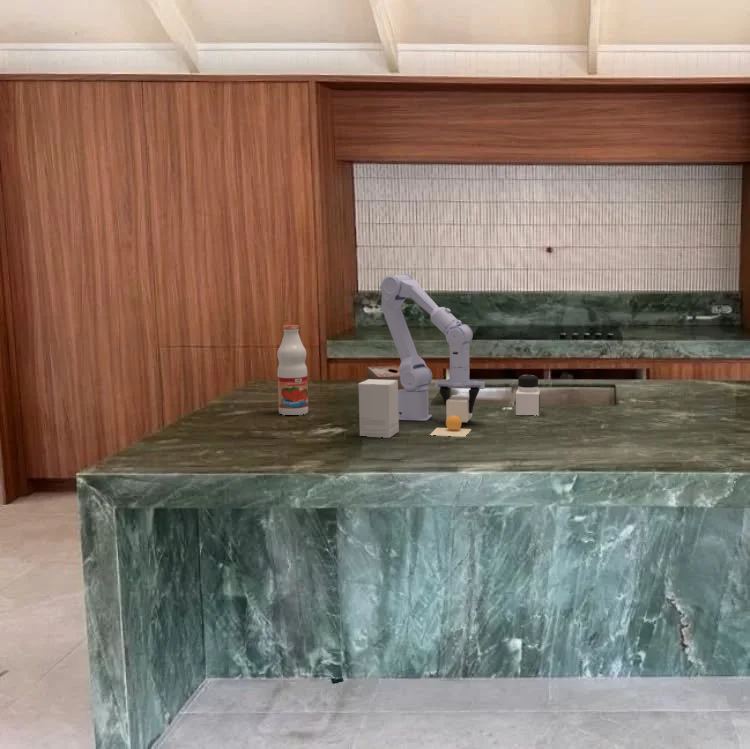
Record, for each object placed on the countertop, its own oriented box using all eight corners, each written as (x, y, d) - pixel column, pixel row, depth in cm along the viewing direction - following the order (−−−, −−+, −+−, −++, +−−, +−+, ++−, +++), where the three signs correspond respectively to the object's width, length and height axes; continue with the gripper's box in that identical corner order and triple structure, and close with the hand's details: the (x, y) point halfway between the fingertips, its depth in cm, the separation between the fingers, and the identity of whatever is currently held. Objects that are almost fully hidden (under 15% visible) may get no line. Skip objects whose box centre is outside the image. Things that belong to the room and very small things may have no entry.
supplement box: (399, 432, 240) (399, 379, 238) (389, 438, 231) (389, 384, 229) (369, 430, 243) (368, 378, 241) (358, 436, 234) (357, 383, 232)
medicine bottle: (539, 416, 259) (539, 377, 257) (515, 415, 260) (515, 377, 259) (539, 412, 266) (540, 374, 264) (516, 411, 267) (516, 373, 266)
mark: (429, 435, 234) (429, 434, 234) (436, 428, 244) (436, 427, 244) (465, 437, 231) (465, 436, 231) (471, 429, 241) (471, 429, 241)
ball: (445, 413, 239) (447, 418, 243) (444, 427, 237) (446, 432, 241) (460, 413, 238) (462, 418, 242) (460, 427, 237) (462, 433, 240)
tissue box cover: (367, 394, 306) (366, 366, 304) (406, 392, 308) (406, 365, 307) (378, 407, 281) (378, 377, 279) (421, 405, 283) (421, 375, 281)
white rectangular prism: (466, 422, 245) (466, 401, 244) (446, 421, 247) (446, 401, 246) (472, 415, 254) (472, 395, 253) (452, 414, 256) (452, 395, 255)
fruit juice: (303, 409, 276) (300, 323, 272) (312, 414, 267) (310, 325, 263) (275, 412, 272) (272, 325, 268) (283, 417, 263) (280, 327, 259)
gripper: (432, 367, 247) (432, 413, 248) (482, 369, 243) (482, 415, 244) (437, 364, 253) (437, 409, 255) (485, 365, 249) (485, 411, 251)
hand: (459, 412), depth 250 cm, fingers closed on white rectangular prism, 6 cm apart
